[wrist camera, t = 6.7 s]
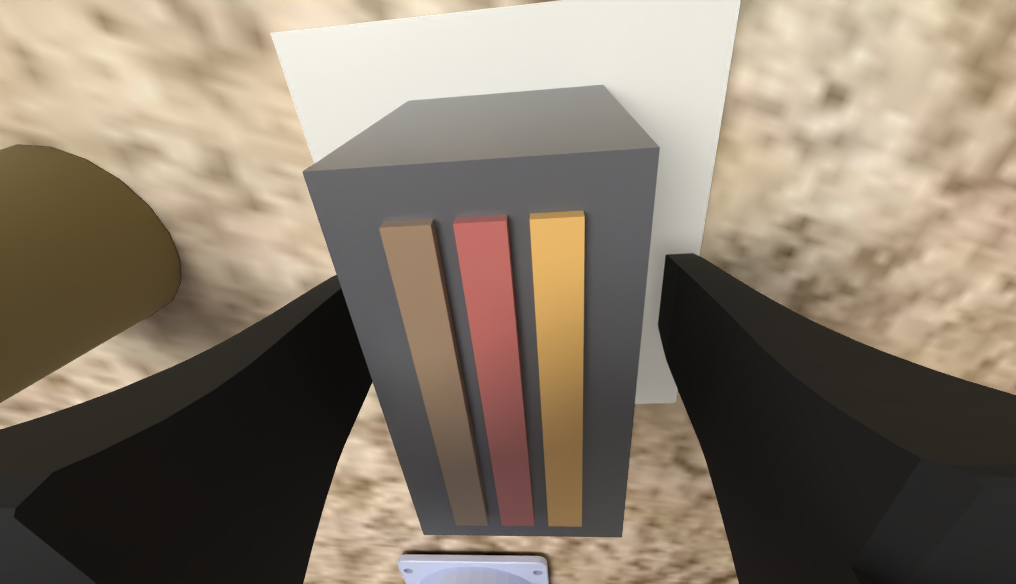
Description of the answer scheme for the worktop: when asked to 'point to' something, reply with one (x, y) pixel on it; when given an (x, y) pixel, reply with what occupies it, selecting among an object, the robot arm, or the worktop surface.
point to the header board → (537, 66)
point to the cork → (72, 261)
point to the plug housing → (500, 300)
